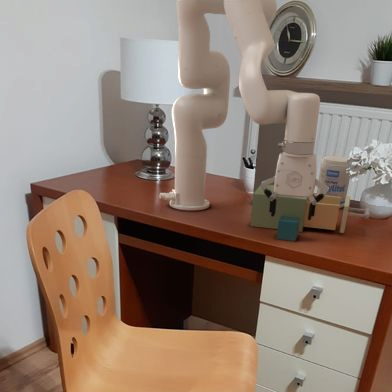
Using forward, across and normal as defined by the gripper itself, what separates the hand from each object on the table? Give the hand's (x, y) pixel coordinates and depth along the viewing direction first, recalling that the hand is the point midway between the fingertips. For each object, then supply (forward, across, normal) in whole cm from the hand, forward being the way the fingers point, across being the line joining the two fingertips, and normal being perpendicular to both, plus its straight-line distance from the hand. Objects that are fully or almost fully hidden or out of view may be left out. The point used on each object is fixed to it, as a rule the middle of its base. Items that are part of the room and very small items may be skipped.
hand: (291, 217), depth 138 cm
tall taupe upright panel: (+5, -9, +32) cm, 34 cm away
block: (+6, 0, 0) cm, 6 cm away
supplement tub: (+6, +8, +38) cm, 40 cm away
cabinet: (+5, -4, +13) cm, 14 cm away
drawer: (+5, +10, +13) cm, 17 cm away
